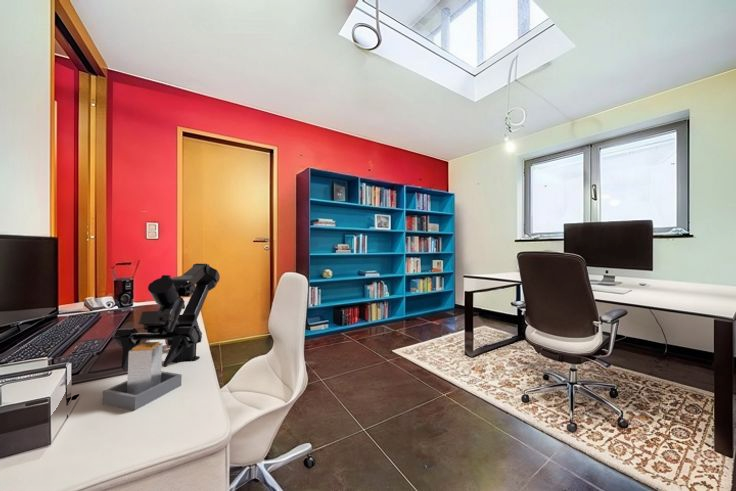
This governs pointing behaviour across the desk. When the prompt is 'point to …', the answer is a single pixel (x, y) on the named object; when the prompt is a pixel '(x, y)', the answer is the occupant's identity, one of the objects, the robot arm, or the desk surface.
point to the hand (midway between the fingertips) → (143, 367)
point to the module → (144, 367)
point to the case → (133, 402)
